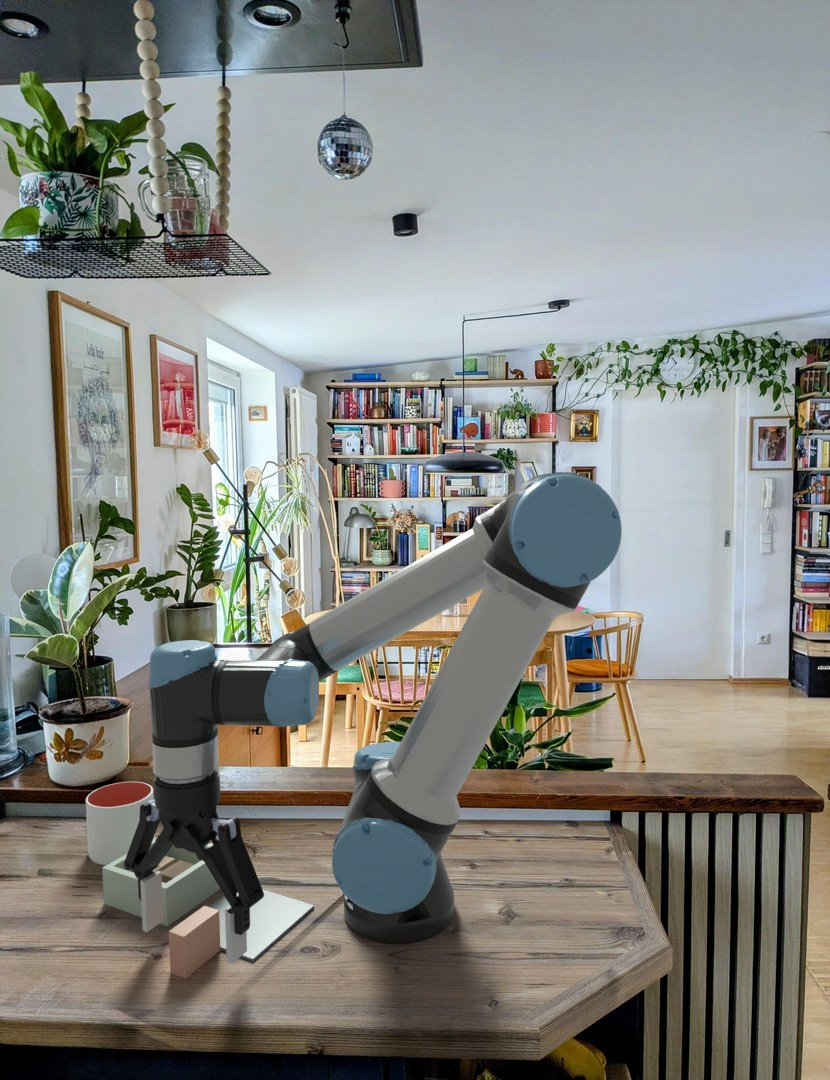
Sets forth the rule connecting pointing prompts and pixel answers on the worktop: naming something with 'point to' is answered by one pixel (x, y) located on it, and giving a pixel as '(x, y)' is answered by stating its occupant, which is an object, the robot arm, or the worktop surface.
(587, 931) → the worktop surface
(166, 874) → the part
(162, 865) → the part
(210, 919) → the lid
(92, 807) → the cup
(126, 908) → the tub
